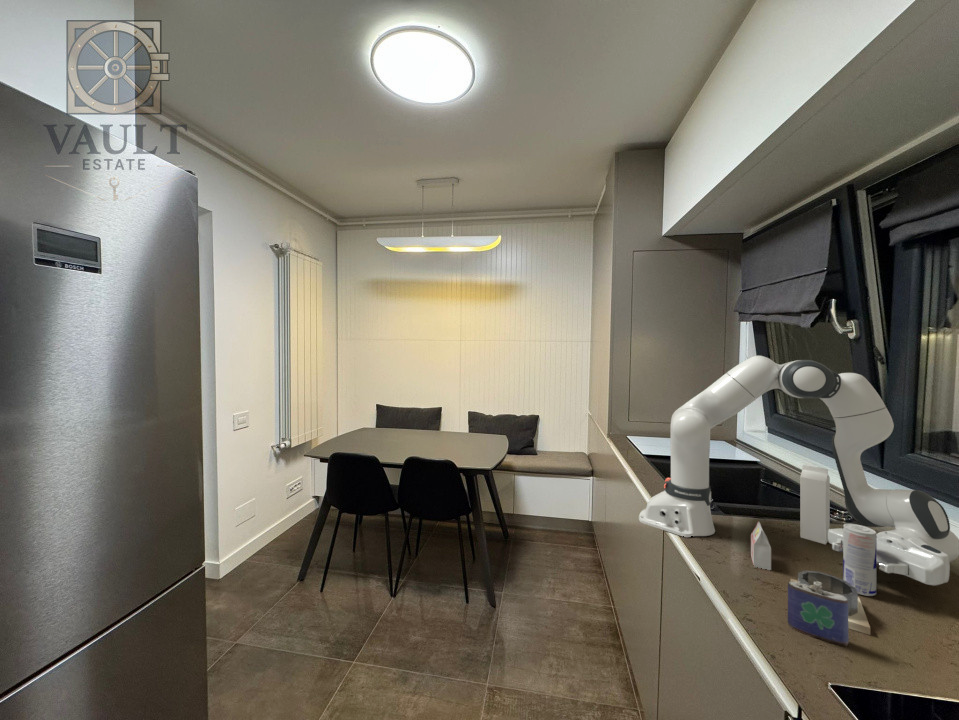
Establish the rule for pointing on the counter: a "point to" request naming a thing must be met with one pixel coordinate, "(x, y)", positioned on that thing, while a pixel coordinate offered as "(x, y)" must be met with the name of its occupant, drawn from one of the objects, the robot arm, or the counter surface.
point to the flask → (818, 612)
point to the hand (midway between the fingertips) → (858, 557)
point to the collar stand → (839, 586)
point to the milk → (814, 504)
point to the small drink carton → (760, 548)
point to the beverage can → (860, 558)
